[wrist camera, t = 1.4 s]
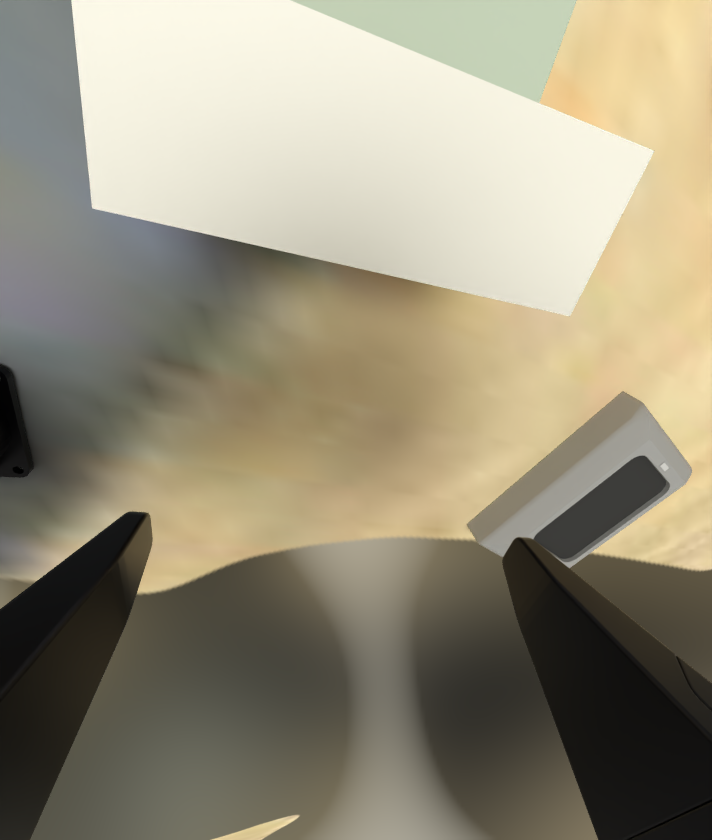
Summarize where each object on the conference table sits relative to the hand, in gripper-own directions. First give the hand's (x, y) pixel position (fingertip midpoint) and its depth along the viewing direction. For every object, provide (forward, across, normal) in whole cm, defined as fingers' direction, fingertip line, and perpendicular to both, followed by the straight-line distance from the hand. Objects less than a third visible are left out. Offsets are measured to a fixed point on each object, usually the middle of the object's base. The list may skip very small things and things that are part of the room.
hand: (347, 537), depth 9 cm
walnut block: (+13, +1, -7) cm, 15 cm away
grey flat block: (+15, -22, +9) cm, 28 cm away
